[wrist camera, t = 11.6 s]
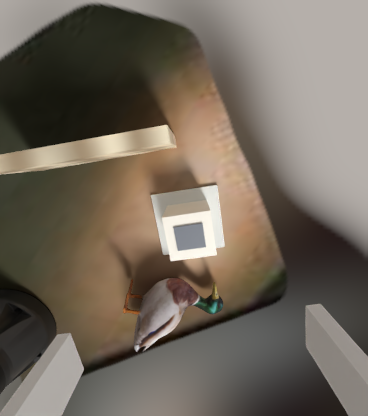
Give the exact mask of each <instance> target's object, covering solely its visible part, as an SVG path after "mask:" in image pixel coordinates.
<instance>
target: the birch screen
mask: <svg viewBox="0 0 368 416" xmlns="http://www.w3.org/2000/svg"><path fill="white" fill-rule="evenodd" d="M176 147H177V146H176V140H175V135H174V134H173V132H172V131H171V130H170V128H169V127H168V125H162V126H157V127H151V128H146V129H140V130H135V131H129V132H124V133H118V134H113V135H107V136H101V137H96V138H90V139H85V140H79V141H74V142H68V143H63V144H57V145H52V146H46V147H41V148H35V149H30V150H24V151H18V152H13V153H7V154H2V155H0V174H10V173H20V172H30V171H41V170H48V169H54V168H60V167H66V166H72V165H77V164H83V163H89V162H95V161H101V160H106V159H112V158H118V157H124V156H130V155H135V154H141V153H147V152H153V151H159V150H164V149H170V148H176Z"/></svg>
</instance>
